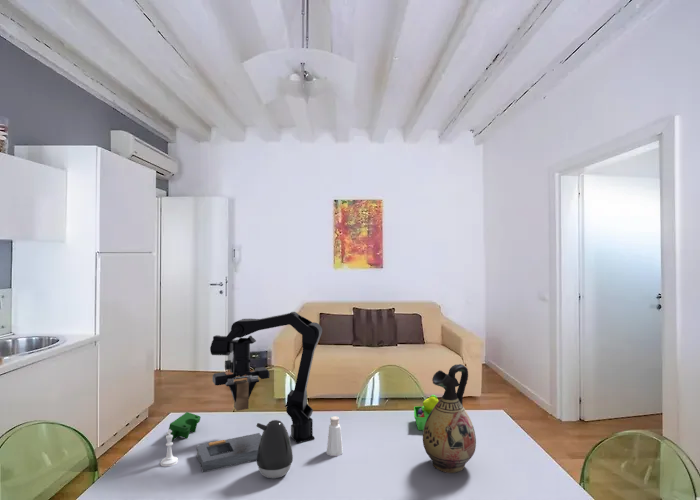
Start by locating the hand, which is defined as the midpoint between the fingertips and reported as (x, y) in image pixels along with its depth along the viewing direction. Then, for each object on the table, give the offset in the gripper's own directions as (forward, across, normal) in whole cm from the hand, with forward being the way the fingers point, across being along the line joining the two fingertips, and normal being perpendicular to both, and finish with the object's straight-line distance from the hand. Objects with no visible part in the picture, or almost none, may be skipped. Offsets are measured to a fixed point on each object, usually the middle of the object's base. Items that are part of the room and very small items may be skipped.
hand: (241, 400), depth 147 cm
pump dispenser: (+12, -2, +31) cm, 33 cm away
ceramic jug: (+12, -50, +51) cm, 73 cm away
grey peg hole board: (+12, +6, +14) cm, 19 cm away
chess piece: (+12, +24, +9) cm, 28 cm away
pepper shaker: (+12, -23, +27) cm, 38 cm away
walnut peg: (+3, 0, 0) cm, 3 cm away
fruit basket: (+12, -62, +24) cm, 68 cm away
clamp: (+12, +17, -10) cm, 24 cm away
